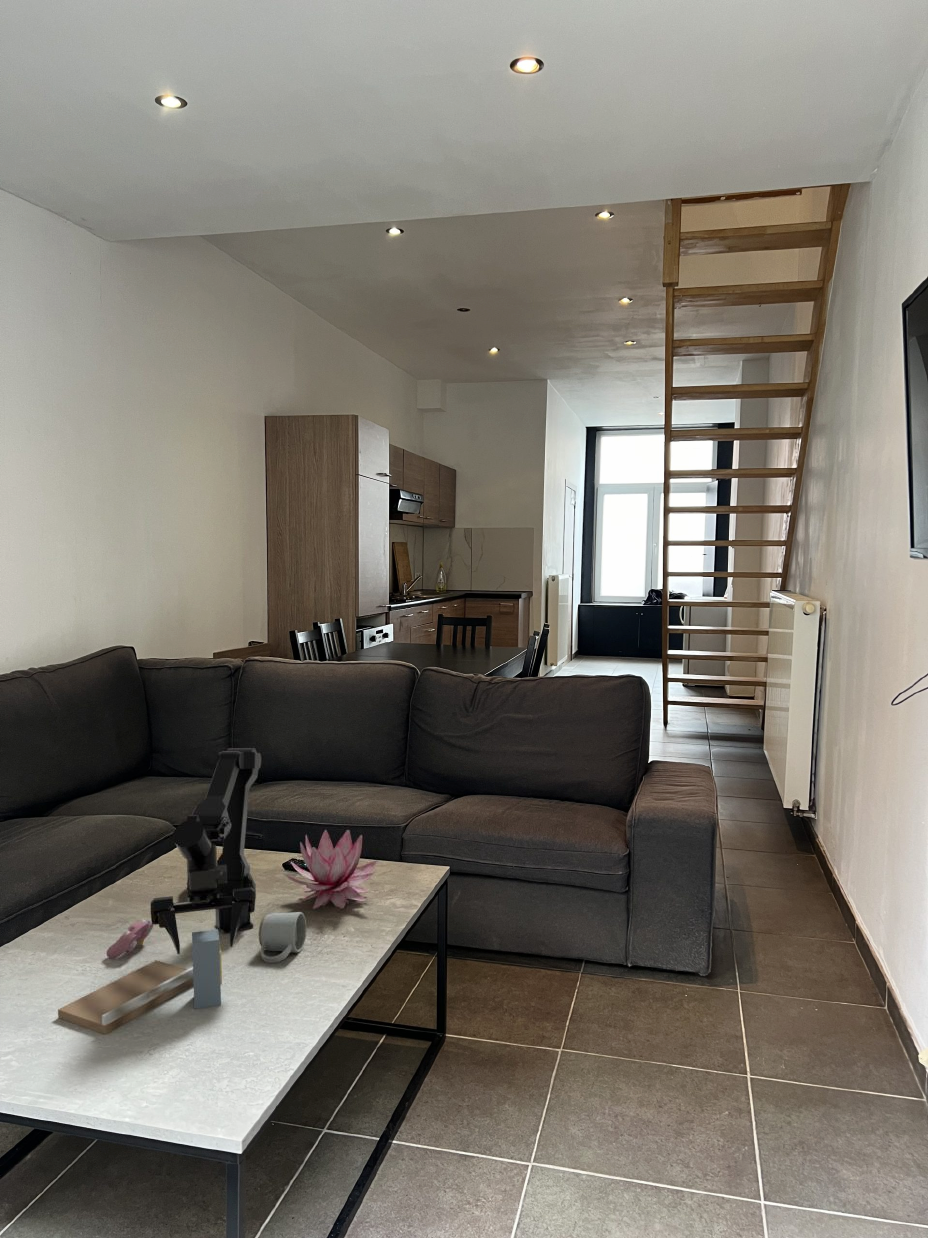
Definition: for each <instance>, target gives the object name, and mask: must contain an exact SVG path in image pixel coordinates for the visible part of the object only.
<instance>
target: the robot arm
mask: <svg viewBox="0 0 928 1238" xmlns="http://www.w3.org/2000/svg"><path fill="white" fill-rule="evenodd" d="M216 755H217V756H216V767H215V769H214V772H213V776H212V778H211V781H210V784H209V787H208V788H207V789H208V790H207V792H206V795H205V797H204V800H202V801H201V802H200V803H198V804H197V805H195V807H194V810H193V811H192V813H191V815H187V816H186V820H185V821H183V822H181V823H179V824H178V825H177V827H175V829H174V830H173V832H172V840H173V843H174V844H175V845H176V848H177V849H178V851H179V853H180V854H181V856H182V857H183V858H184V859H186V881H187V883H186V893H187V894H186V896H187V897H186V898H187V901H179V902H174V896H173V895H172V896H164V897H163V896H161V897H154V898H152V900H151V901H150V919H151V920H150V922H151V923H152V924H154V925H156V926H157V925H158V927H159V928H160V929H163V928H164V929H165V931H166V932H167V933H168V935H169V937H170V938H171V941H172V943H173V946H174V948H175V951H176V954H177V955H180V954H181V944H180V937H179V931H178V924H177V918H176V914H184V913H185V914H186V913H192V912H201V911H203V912H204V911H209V910H215V926H216V927H217V929H218V928H219V930H221V932H222V933H223V934H229V947H230V948H233V947H234V943H235V938H236V936H237V932H239V931H242V930H246V929H250V928H253V927H254V924H253V922H252V921H251V914H252V913H254V912H255V910H256V909H255V907H256V899H257V889H256V887H257V885H256V882H255V881H254V877H253V876H252V874H251V867H250V865H249V862H248V860H247V858H246V856H245V844H246V843H245V841H246V832H247V830H246V829H247V819H248V807H249V795H250V788H251V787H252V785H253V784H254V783H255V781H256V780H257V778H258V775H259V769H261V765H262V755H261V753H260V752H257V749H256V748H255V747H252V748H251V747H247V748H246V747H245V748H244V747H243V748H242V747H241V748H239V747H238V748H235V747H234V748H233V747H231V748H227V749H226V751H225V750H223V751H221V752H218V753H217V754H216ZM212 841H214V842H215V841H217V842H218V841H219V842H220V841H222V849H221V850H222V852H221V853H222V854H219V855H220V857H219V858H218V860H217V855H218V847H217V846H216V844H215V843H214V842H212ZM154 925H153V926H154Z"/></svg>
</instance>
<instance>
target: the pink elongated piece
mask: <svg viewBox="0 0 928 1238" xmlns="http://www.w3.org/2000/svg"><path fill="white" fill-rule="evenodd" d="M153 928H154V924H152V921H149V920H145V919H144V918H142V919H141V920H139V921H135V922H133V923H131V924H130V925H129V926H128V928H127V929H126V931H124V932H123V933H122V935H120V937H119V939H117V940H116V942H114V943H113V944H112V945H110V946H109V947H108V949H107V950H106V957H107V958H108V959H117V958H118V957H120V956H122V955H123V954H125V953H126V954H127V955H131V954H132V953H133V951H134V950H135V948H137V949H138V948H140V947H141V946H142V945H143V944H144V941H145V939H147V937H148V936H149V934H151V932H152V930H153Z"/></svg>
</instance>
